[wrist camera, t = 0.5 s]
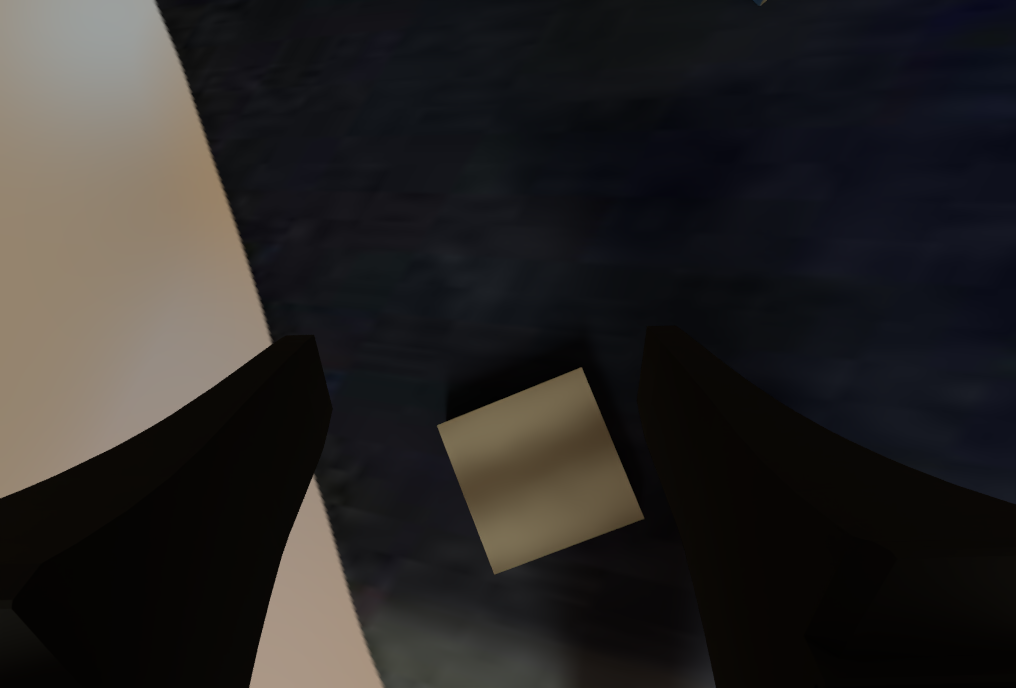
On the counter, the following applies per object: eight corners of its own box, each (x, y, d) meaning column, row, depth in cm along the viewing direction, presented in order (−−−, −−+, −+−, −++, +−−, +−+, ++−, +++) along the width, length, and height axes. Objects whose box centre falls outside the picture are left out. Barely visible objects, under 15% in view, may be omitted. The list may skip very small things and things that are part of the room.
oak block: (638, 506, 37) (644, 518, 34) (500, 558, 38) (494, 574, 35) (580, 367, 38) (581, 367, 35) (447, 421, 38) (436, 425, 35)
